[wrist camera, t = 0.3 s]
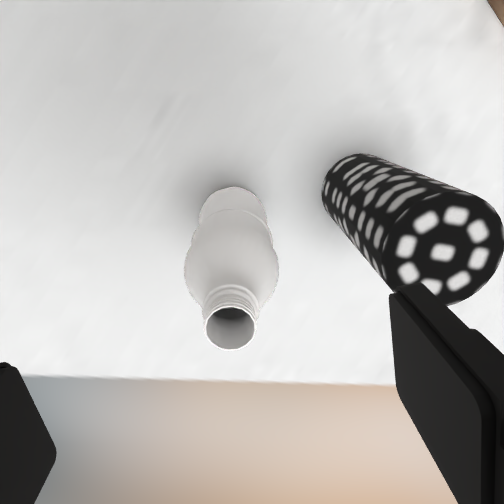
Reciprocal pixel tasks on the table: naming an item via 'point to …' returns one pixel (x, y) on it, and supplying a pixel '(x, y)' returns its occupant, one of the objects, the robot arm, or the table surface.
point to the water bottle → (231, 266)
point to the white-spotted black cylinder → (415, 226)
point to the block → (498, 8)
